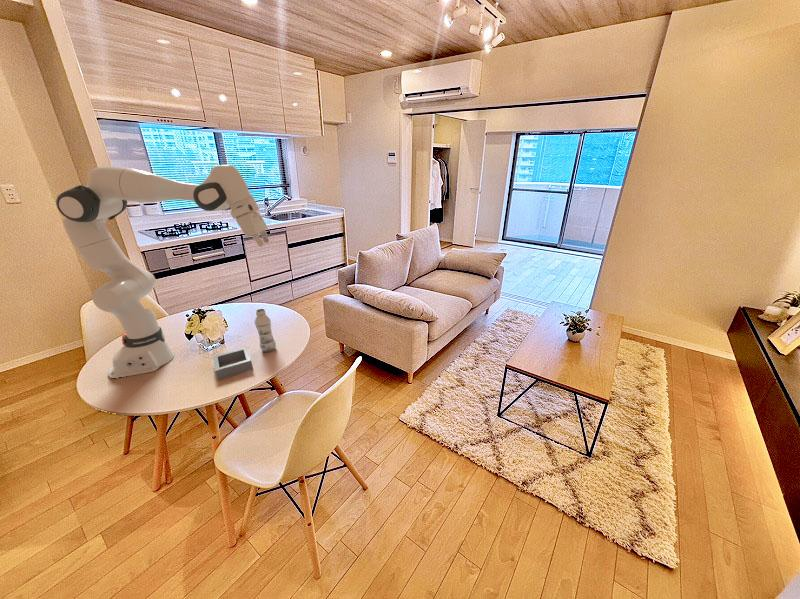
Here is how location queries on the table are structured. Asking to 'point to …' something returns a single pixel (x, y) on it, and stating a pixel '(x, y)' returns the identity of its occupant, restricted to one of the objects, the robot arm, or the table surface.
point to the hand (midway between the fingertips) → (264, 244)
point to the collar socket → (232, 368)
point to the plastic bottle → (264, 331)
